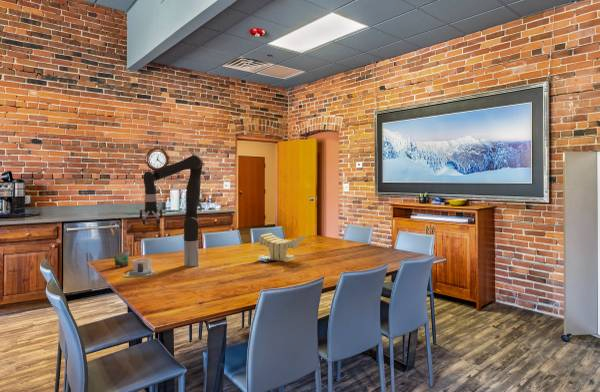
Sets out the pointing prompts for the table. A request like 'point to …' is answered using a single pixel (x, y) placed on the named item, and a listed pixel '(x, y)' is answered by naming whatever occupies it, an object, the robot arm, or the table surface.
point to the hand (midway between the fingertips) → (151, 224)
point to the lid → (140, 271)
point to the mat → (142, 275)
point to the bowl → (145, 262)
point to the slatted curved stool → (279, 246)
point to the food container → (121, 259)
